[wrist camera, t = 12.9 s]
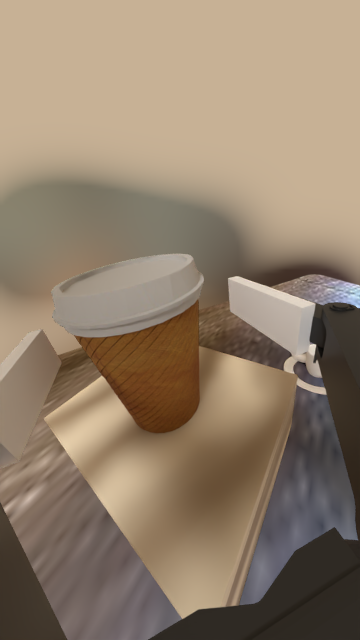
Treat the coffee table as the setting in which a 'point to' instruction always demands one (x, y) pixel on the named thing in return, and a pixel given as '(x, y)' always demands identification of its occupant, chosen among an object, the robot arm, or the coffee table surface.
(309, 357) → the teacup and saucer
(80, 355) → the coffee table surface
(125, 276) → the disposable coffee cup
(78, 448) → the maple shelf
